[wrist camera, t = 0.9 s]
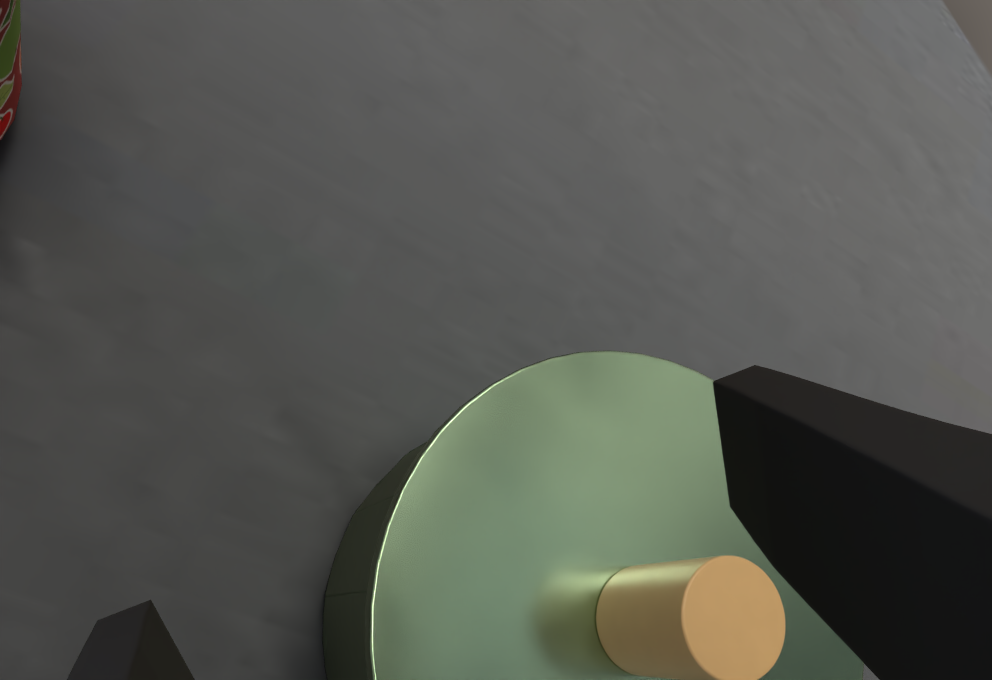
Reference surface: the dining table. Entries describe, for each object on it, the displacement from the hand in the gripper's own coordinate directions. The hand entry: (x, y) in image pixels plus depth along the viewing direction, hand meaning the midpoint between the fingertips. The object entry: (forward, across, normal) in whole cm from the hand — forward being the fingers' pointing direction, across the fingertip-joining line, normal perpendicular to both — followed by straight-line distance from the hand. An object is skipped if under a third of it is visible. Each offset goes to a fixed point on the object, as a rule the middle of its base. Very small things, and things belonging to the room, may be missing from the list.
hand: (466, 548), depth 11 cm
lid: (+6, -4, +9) cm, 11 cm away
